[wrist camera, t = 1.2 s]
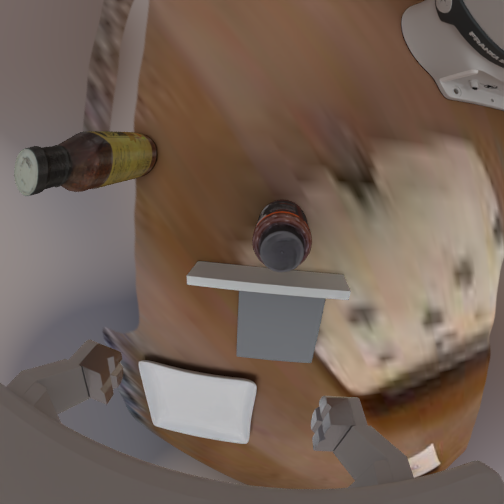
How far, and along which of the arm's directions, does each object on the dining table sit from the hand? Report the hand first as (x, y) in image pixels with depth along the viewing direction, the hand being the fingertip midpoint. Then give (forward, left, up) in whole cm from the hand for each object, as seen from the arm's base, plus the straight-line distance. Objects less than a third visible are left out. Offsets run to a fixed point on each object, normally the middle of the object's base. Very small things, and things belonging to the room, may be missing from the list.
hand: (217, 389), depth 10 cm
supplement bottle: (-2, 0, -28) cm, 28 cm away
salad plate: (+10, +36, -28) cm, 47 cm away
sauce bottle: (+18, -8, -28) cm, 34 cm away
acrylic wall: (-1, +7, -28) cm, 28 cm away
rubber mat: (-3, +16, -28) cm, 32 cm away
